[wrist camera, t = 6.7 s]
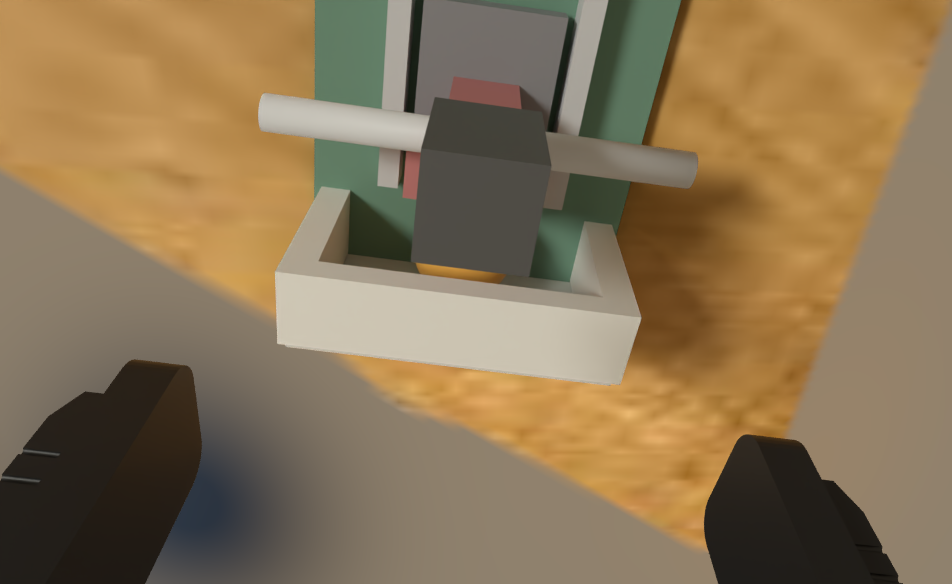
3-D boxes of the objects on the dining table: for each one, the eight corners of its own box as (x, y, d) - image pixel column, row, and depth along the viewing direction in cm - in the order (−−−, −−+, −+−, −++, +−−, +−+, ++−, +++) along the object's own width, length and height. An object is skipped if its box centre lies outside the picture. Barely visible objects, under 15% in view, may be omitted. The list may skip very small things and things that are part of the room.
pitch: (320, -408, 19) (303, -434, 17) (766, -330, 20) (791, -349, 18) (317, 260, 31) (306, 283, 29) (595, 295, 31) (601, 320, 30)
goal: (321, 186, 28) (275, 271, 22) (611, 224, 29) (641, 317, 23) (320, 266, 30) (278, 363, 24) (591, 300, 31) (614, 403, 25)
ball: (407, 309, 28) (419, 230, 30) (501, 321, 28) (508, 241, 30) (408, 261, 25) (421, 174, 26) (516, 275, 25) (522, 188, 27)
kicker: (298, -27, 24) (167, 45, 14) (689, 30, 24) (810, 135, 15) (300, 149, 27) (195, 300, 18) (641, 195, 28) (715, 365, 18)
